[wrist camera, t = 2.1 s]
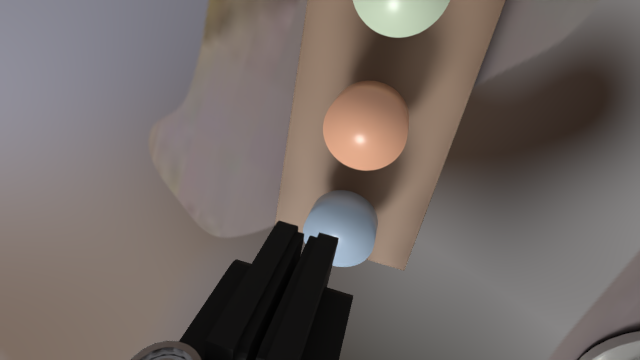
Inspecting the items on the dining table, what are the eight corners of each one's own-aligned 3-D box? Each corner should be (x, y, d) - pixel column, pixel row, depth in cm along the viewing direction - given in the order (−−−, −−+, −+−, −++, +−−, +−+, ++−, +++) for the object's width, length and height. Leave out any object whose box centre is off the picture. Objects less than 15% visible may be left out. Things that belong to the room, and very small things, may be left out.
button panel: (526, -85, 20) (540, -93, 18) (406, 246, 31) (404, 270, 29) (339, -118, 22) (326, -131, 19) (286, 210, 32) (273, 231, 30)
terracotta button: (419, 91, 21) (418, 102, 19) (397, 164, 23) (394, 179, 21) (339, 72, 21) (331, 80, 20) (324, 145, 24) (316, 158, 22)
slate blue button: (385, 201, 24) (382, 218, 23) (369, 255, 26) (364, 275, 25) (317, 182, 25) (309, 197, 23) (306, 236, 27) (298, 254, 25)
